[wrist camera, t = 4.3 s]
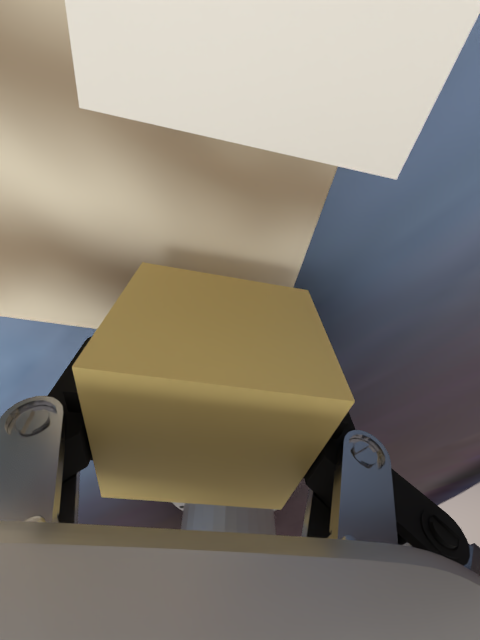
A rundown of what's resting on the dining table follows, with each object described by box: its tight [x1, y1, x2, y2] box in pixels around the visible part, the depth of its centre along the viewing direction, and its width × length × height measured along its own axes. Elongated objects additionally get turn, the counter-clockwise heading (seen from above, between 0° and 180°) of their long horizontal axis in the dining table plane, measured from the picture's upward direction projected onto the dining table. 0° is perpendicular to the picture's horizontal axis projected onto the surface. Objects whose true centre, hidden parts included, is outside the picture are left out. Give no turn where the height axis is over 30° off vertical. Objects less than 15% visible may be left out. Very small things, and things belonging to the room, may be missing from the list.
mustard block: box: [72, 262, 355, 510], centre depth 10 cm, size 6×6×5 cm
